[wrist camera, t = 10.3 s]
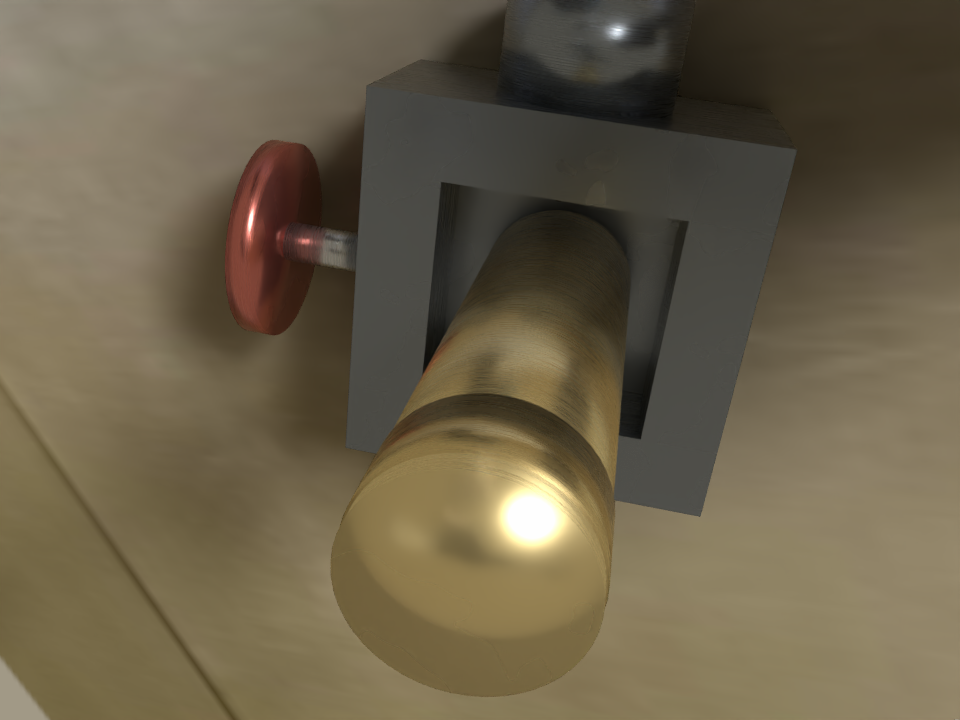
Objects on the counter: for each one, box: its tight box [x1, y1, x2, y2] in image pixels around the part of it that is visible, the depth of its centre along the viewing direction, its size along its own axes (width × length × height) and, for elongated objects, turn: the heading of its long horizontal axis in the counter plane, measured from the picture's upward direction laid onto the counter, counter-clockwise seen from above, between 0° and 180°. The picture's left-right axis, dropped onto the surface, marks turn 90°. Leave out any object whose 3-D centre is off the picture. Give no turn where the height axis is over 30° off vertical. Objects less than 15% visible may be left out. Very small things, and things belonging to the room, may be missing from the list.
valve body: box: [225, 0, 797, 517], centre depth 28 cm, size 17×15×6 cm
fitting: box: [331, 210, 631, 697], centre depth 21 cm, size 5×5×15 cm
